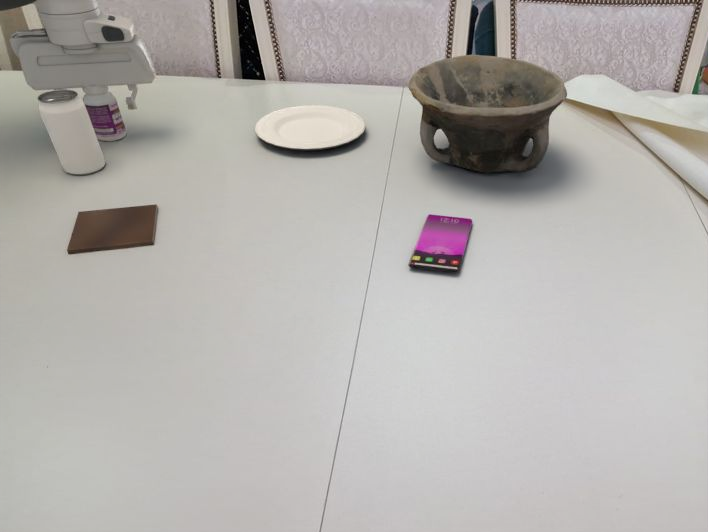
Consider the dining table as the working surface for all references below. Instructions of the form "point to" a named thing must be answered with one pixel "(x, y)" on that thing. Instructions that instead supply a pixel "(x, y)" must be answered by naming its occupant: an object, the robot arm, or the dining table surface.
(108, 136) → the pill bottle
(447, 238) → the smartphone
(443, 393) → the dining table surface
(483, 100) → the bowl
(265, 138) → the plate
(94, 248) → the coaster
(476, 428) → the dining table surface
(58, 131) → the can
